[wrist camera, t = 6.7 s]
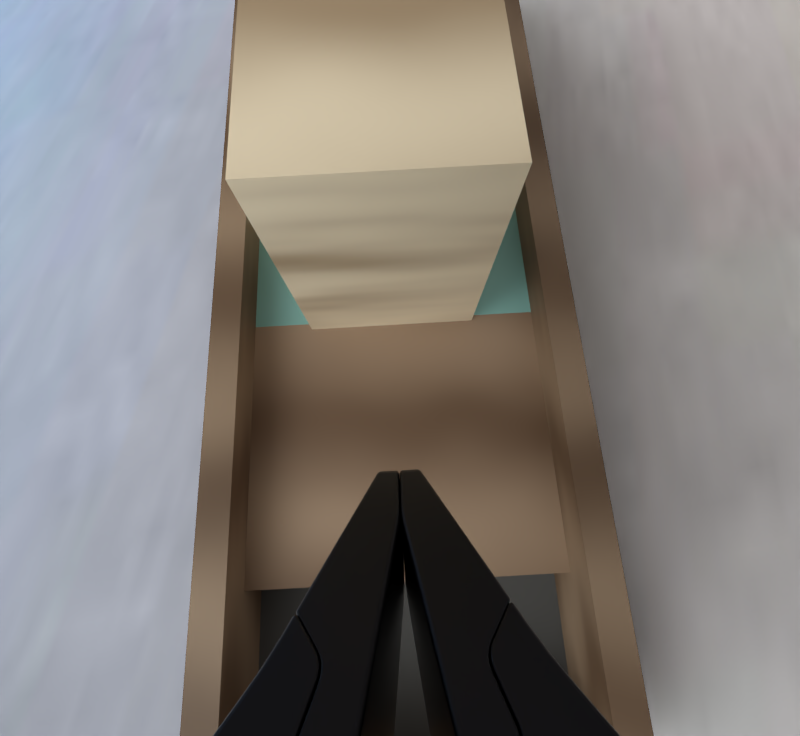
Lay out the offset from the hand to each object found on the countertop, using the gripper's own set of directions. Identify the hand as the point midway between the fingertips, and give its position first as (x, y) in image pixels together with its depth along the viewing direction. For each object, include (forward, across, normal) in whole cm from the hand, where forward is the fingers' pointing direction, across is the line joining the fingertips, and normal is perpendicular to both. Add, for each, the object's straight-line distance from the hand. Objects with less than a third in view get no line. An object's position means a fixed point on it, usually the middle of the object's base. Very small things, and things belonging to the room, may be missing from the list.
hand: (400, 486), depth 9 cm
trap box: (+10, 0, +1) cm, 10 cm away
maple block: (+12, 0, -3) cm, 12 cm away
